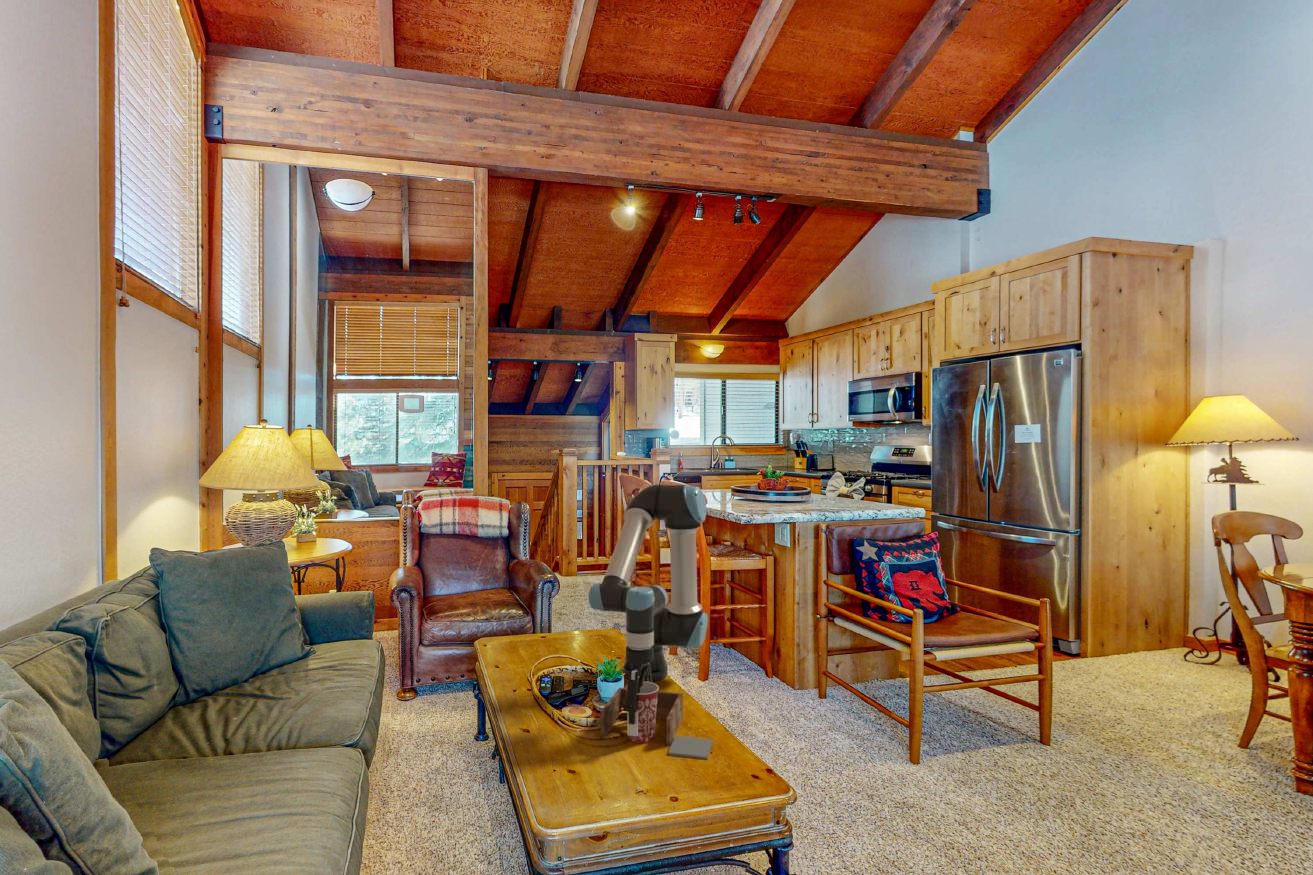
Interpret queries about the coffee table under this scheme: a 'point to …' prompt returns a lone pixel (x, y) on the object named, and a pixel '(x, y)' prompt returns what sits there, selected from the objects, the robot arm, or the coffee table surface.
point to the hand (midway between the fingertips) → (639, 724)
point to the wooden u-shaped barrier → (666, 707)
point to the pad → (690, 747)
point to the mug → (646, 712)
